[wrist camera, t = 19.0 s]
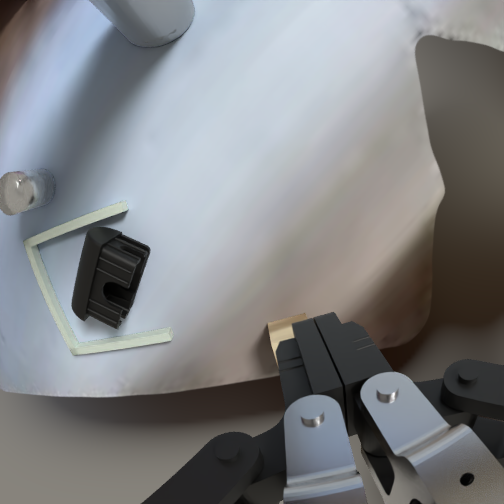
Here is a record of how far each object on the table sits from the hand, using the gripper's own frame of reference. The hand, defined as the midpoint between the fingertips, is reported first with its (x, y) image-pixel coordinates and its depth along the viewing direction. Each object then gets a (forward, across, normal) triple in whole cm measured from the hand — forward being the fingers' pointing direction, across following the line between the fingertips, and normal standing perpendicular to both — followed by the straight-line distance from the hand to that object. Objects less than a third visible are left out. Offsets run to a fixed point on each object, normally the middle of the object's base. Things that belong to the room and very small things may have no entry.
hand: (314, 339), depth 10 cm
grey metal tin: (+25, +27, -12) cm, 39 cm away
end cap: (+25, +19, +2) cm, 32 cm away
